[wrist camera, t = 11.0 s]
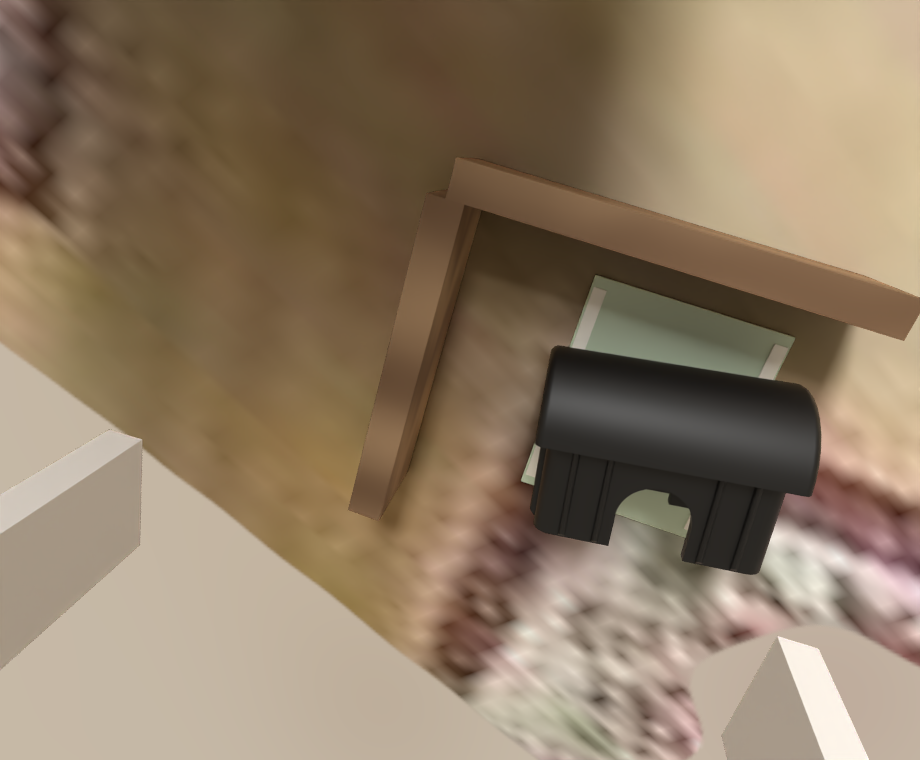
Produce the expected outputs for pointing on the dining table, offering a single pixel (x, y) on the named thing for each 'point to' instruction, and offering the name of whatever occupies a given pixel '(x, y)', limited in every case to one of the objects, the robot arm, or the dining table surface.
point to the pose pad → (669, 360)
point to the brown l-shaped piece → (587, 220)
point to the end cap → (672, 451)
